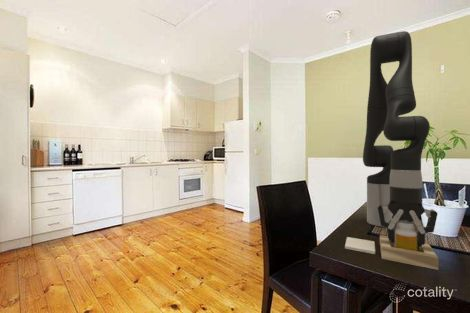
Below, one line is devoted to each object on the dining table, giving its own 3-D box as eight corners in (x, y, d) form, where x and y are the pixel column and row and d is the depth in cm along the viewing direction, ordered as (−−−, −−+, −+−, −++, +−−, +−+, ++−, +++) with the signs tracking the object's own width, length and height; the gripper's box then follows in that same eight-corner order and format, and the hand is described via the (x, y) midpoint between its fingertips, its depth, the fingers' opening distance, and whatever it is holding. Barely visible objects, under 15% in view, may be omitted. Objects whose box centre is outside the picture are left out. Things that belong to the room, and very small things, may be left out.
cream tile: (347, 239, 77) (347, 236, 77) (374, 243, 73) (374, 241, 73) (344, 248, 70) (344, 246, 70) (375, 254, 66) (375, 251, 66)
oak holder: (379, 244, 73) (379, 235, 73) (427, 252, 67) (427, 242, 67) (381, 258, 63) (381, 248, 63) (438, 269, 57) (438, 258, 57)
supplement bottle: (421, 260, 62) (421, 225, 62) (399, 258, 63) (399, 224, 63) (410, 252, 67) (410, 219, 67) (390, 250, 68) (390, 218, 68)
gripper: (434, 185, 64) (434, 244, 64) (375, 182, 72) (375, 235, 72) (442, 188, 58) (442, 253, 58) (376, 185, 65) (376, 243, 65)
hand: (405, 243), depth 65 cm, fingers open, 5 cm apart
